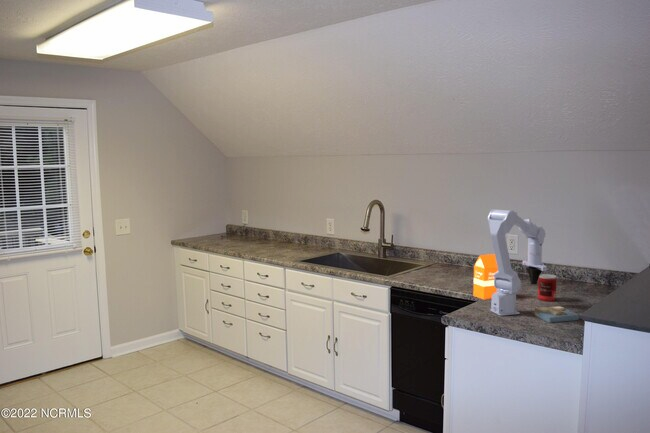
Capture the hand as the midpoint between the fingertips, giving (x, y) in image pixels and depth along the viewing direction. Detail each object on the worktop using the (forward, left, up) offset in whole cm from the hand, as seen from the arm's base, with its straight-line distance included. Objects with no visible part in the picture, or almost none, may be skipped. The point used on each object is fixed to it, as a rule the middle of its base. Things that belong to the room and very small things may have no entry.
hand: (533, 284), depth 235 cm
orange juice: (-12, +19, -10) cm, 24 cm away
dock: (-3, -20, -10) cm, 22 cm away
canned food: (+12, +7, -10) cm, 17 cm away
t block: (-3, -18, -10) cm, 20 cm away
